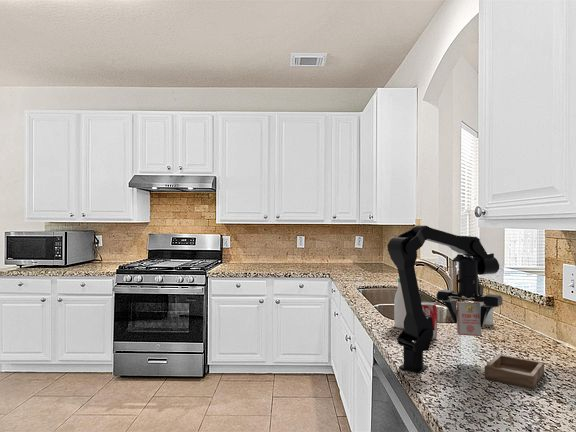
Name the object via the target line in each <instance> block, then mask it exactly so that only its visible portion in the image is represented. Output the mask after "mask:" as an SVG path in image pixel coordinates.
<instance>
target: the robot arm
mask: <svg viewBox="0 0 576 432" xmlns="http://www.w3.org/2000/svg"><path fill="white" fill-rule="evenodd" d="M426 241H429V242H431V243H434V244H435V243H436V244H439V245H442V246H446V247H448V248H450V249H451V250H452V251H453V252H456V253H458V254H457V255H456V256H455V257H454V258H453V259H452V262H454V263H455V262H456V263H457V265H458V279H457V283H458V292H457V293H456V292H455V290H451V289H442V290H438V292H437V293H436V301H442V302H441V303H442V304H444V305H445V307H446V308H447V310H448V311H449V313H450V316H451V318H452V320H453V322H454V324H457V302H458V300H459V301H460V300H461V301H467V302H469V301H470V302H474V301H476V302H483V304H484V305H482V306H481V319H480V323H481V328H483V327H484V323H485V320H486V318H487V315H488V313H489V311H490V309H492V308H493V309H494V308H496V307H497V308H499V307H500V306H502V305H503V297H502V295H500V294H491V293H488V294H486V295H484V289H485V288H484V287H485V286H484V285H482V284H481V283H480V278H479V276H482V275H485V276H486V275H493V274H497V273H498V272H499V270H500V263H499V261H498V259H497V258H496V257H495V253H493V252H492V253H491V252H487V251H486V249H485V247H484V246H483V244H482V242H481V238H479V237H477V236H470V235H457V234H453V233H450V232H447V231H444V230H443V231H442V230H439V229H437V228H433V227H430V226H428V225H419V224H418V225H415V226H413V227H412V228H410V229H409V230H407V231H405V232H403V233H401V234H399V235H398V236H396V237H392V238H391V239H390V240H389V241H388V243H387V246H386V247H387V252H388V255H389V257H390V260H391V261H392V262H393V264H394V266H395V267H396V269H397V273H398V278H399V279H400V284H401V289H402V294H403V299H404V304H405V309H406V316H405V319H404V329H402V331H401V332H400V334H398V336H397V338H396V341H397V345H399V346H402V347H403V351H402V353H403V363H402V364H401V365H399V366H398V369H400V370H404V371H409V372H413V373H417V374H420V373H421V372H423V371H425V370H426V369H428V368H429V365H427V364H424V352H426V351H429V350H430V347H431V344H432V341H433V340H432V338H433V330H435V329H434V328H433V322H432V318H431V317H429V316H426V315H425V314H424V313H423V309H422V304H421V302H422V300H421V295H420V289H419V284H418V278H417V274H416V270H415V269H416V268H415V264H416V261H417V258H418V250H419V249H420V248H422V247H424V246H423V245H424V243H426ZM474 298H475V299H474Z"/></svg>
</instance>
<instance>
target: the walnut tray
mask: <svg viewBox="0 0 576 432" xmlns="http://www.w3.org/2000/svg"><path fill="white" fill-rule="evenodd" d="M483 368H484V369H483V370H484V371H483V372H484V380H487V381H492V382H496V383H500V384H505V385H509V386H514V387H518V388H523V389H527V390H530V391H531V390H532V391H534V390H535V388H536V387H537V386H538V384H539V383H540V381H541V380H542V379H543V377H544V376H545V362H543V361H538V360H533V359H528V358H527V359H526V358H521V357H516V356H511V355H505V354H500V353H499V354H497V355H496V356H494V358H492V359H491V360H490V361H489V362H488V363H487V364H486V365H485V366H484V367H483Z"/></svg>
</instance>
